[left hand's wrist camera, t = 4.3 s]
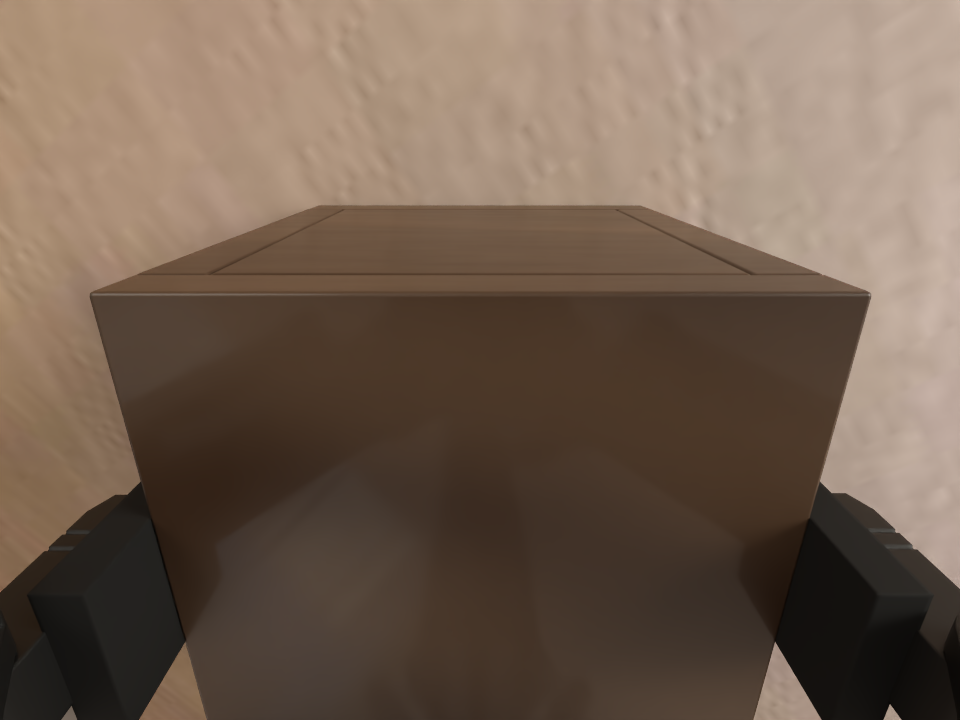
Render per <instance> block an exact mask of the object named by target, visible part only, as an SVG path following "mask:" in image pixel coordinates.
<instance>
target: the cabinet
mask: <svg viewBox="0 0 960 720" xmlns="http://www.w3.org/2000/svg"><path fill="white" fill-rule="evenodd" d="M90 299H91V303H92V307H93V310H94V314H95V318H96V321H97V325H98V328H99V332H100V336H101V339H102V343H103V346H104V350H105V354H106V357H107V361H108V364H109V368H110V372H111V375H112V379H113V382H114V386H115V390H116V393H117V397H118V400H119V404H120V408H121V411H122V415H123V418H124V422H125V426H126V429H127V433H128V437H129V440H130V444H131V447H132V451H133V455H134V458H135V462H136V465H137V469H138V473H139V476H140V480H141V483H142V487H143V491H144V494H145V498H146V501H147V505H148V509H149V512H150V516H151V519H152V523H153V527H154V530H155V534H156V537H157V541H158V545H159V548H160V552H161V556H162V559H163V563H164V566H165V570H166V574H167V577H168V581H169V584H170V588H171V592H172V595H173V599H174V602H175V606H176V610H177V613H178V617H179V620H180V624H181V628H182V631H183V635H184V638H185V642H186V646H187V649H188V653H189V656H190V660H191V664H192V667H193V671H194V674H195V678H196V682H197V685H198V689H199V693H200V696H201V700H202V703H203V707H204V711H205V714H206V718H207V720H753V719H754V715H755V712H756V708H757V704H758V701H759V697H760V694H761V690H762V686H763V683H764V679H765V676H766V672H767V669H768V665H769V661H770V658H771V654H772V651H773V647H774V643H775V640H776V636H777V633H778V629H779V625H780V622H781V618H782V615H783V611H784V608H785V604H786V600H787V597H788V593H789V590H790V586H791V582H792V579H793V575H794V572H795V568H796V565H797V561H798V557H799V554H800V550H801V547H802V543H803V539H804V536H805V532H806V529H807V525H808V521H809V518H810V514H811V511H812V507H813V504H814V500H815V496H816V493H817V489H818V486H819V482H820V478H821V475H822V471H823V468H824V464H825V461H826V457H827V453H828V450H829V446H830V443H831V439H832V435H833V432H834V428H835V425H836V421H837V417H838V414H839V410H840V407H841V403H842V400H843V396H844V392H845V389H846V385H847V382H848V378H849V374H850V371H851V367H852V364H853V360H854V357H855V353H856V349H857V346H858V342H859V339H860V335H861V331H862V328H863V324H864V321H865V317H866V313H867V310H868V306H869V303H870V299H871V294H870V292H867V291H865V290H862V289H860V288H857V287H854V286H852V285H849V284H846V283H844V282H841V281H839V280H836V279H833V278H831V277H828V276H825V275H822V274H820V273H817V272H815V271H812V270H809V269H807V268H804V267H801V266H799V265H796V264H793V263H791V262H788V261H786V260H783V259H780V258H778V257H775V256H772V255H770V254H767V253H764V252H762V251H759V250H756V249H754V248H751V247H749V246H746V245H743V244H741V243H738V242H735V241H733V240H730V239H727V238H725V237H722V236H719V235H717V234H714V233H712V232H709V231H706V230H704V229H701V228H698V227H696V226H693V225H690V224H688V223H685V222H682V221H680V220H677V219H675V218H672V217H669V216H667V215H664V214H661V213H659V212H656V211H653V210H650V209H648V208H645V207H643V206H317V207H314V208H312V209H308V210H305V211H303V212H300V213H298V214H295V215H292V216H290V217H287V218H284V219H282V220H279V221H276V222H274V223H271V224H269V225H266V226H263V227H261V228H258V229H255V230H253V231H250V232H247V233H245V234H242V235H240V236H237V237H234V238H232V239H229V240H226V241H224V242H221V243H218V244H216V245H213V246H211V247H208V248H205V249H203V250H200V251H197V252H195V253H192V254H189V255H187V256H184V257H181V258H179V259H176V260H174V261H171V262H168V263H166V264H163V265H160V266H158V267H155V268H152V269H150V270H147V271H145V272H142V273H139V274H137V275H135V276H132V277H130V278H127V279H125V280H122V281H119V282H117V283H114V284H111V285H109V286H106V287H104V288H101V289H98V290H96V291H93V292H91V293H90Z"/></svg>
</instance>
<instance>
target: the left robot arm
mask: <svg viewBox="0 0 960 720" xmlns="http://www.w3.org/2000/svg"><path fill="white" fill-rule="evenodd" d="M775 642H776V644H777V645H778V647H779V649H780V650H781V652H782V654H783V655H784V657H785V659H786V660H787V662H788V664H789V665H790V667H791V669H792V671H793V672H794V674H795V676H796V677H797V679H798V681H799V682H800V684H801V686H802V687H803V689H804V691H805V692H806V694H807V696H808V697H809V699H810V701H811V702H812V704H813V706H814V708H815V709H816V711H817V713H818V714H819V716H820V718H821V719H822V720H883V719H884V717H885V714H886V712H887V710H888V707H889V705H890V704H891V706H892V707H893V709H894V710H895V711H896V713H897V714H898V715H899V717H900V718H901V719H902V720H960V589H959V588H958V587H957V586H956V585H955V584H954V583H953V582H952V581H951V580H949V579H948V578H947V577H946V576H945V575H944V574H943V573H942V572H941V571H940V570H939V569H938V568H936V567H935V566H934V565H933V564H932V563H931V562H930V561H929V560H928V559H927V558H926V557H925V556H923V555H922V554H921V553H920V552H919V551H918V550H914V549H913V547H912V544H911V543H909V542H908V541H907V540H906V539H905V538H904V537H903V536H902V535H901V534H900V533H896V532H895V529H894V528H893V527H892V526H891V525H890V524H889V523H888V522H887V521H886V520H885V519H883V518H882V517H881V516H880V515H879V514H878V513H877V512H876V511H875V510H874V509H872V508H870V507H868V506H867V505H865V504H863V503H862V502H860V501H858V500H856V499H855V498H853V497H851V496H850V495H848V494H846V493H831V492H830V491H829V490H828V489H827V488H826V487H825V486H824V485H823V484H822V483H821V482H819V486H818V489H817V493H816V496H815V500H814V504H813V507H812V511H811V514H810V518H809V521H808V525H807V529H806V532H805V536H804V539H803V543H802V547H801V550H800V554H799V557H798V561H797V565H796V568H795V572H794V575H793V579H792V582H791V586H790V590H789V593H788V597H787V600H786V604H785V608H784V611H783V615H782V618H781V622H780V625H779V629H778V633H777V636H776V640H775ZM184 643H185V638H184V635H183V631H182V628H181V624H180V620H179V617H178V613H177V610H176V606H175V602H174V599H173V595H172V592H171V588H170V584H169V581H168V577H167V574H166V570H165V566H164V563H163V559H162V556H161V552H160V548H159V545H158V541H157V537H156V534H155V530H154V527H153V523H152V519H151V516H150V512H149V509H148V505H147V501H146V498H145V494H144V491H143V487H142V483H141V482H140V483H139V484H138V485H137V486H136V487H135V488H134V489H133V490H132V491H131V492H130V493H129V494H128V495H114V496H113V497H111V498H109V499H108V500H106V501H104V502H103V503H101V504H99V505H97V506H96V507H94V508H92V509H91V510H89V511H87V512H86V513H85V514H84V515H83V516H82V517H81V518H80V519H79V520H78V521H76V522H75V523H74V524H73V525H72V526H71V527H70V528H69V529H68V530H67V531H66V535H61V536H60V537H59V538H58V539H57V540H56V541H55V542H54V543H53V544H52V545H51V546H50V547H49V550H48V551H44V552H43V553H42V554H41V555H40V556H39V557H38V558H37V559H36V560H35V561H34V562H32V563H31V564H30V565H29V566H28V567H27V568H26V569H25V570H24V571H23V572H22V573H21V574H20V575H18V576H17V577H16V578H15V579H14V580H13V581H12V582H11V583H10V584H9V585H8V586H7V587H6V588H5V589H3V590H2V591H1V592H0V720H61V719H62V718H63V716H64V715H65V714H66V712H67V711H68V710H69V708H70V707H71V705H72V708H73V710H74V713H75V715H76V717H77V720H139V719H140V717H141V715H142V714H143V712H144V710H145V708H146V707H147V705H148V703H149V702H150V700H151V698H152V697H153V695H154V693H155V692H156V690H157V688H158V687H159V685H160V683H161V682H162V680H163V678H164V677H165V675H166V673H167V671H168V670H169V668H170V666H171V665H172V663H173V661H174V660H175V658H176V656H177V655H178V653H179V651H180V650H181V648H182V646H183V645H184Z"/></svg>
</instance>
